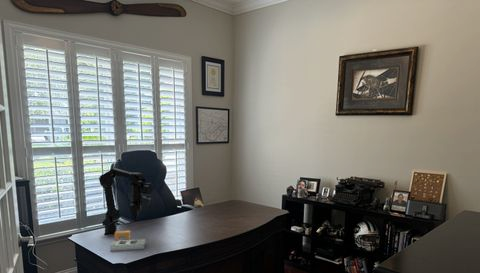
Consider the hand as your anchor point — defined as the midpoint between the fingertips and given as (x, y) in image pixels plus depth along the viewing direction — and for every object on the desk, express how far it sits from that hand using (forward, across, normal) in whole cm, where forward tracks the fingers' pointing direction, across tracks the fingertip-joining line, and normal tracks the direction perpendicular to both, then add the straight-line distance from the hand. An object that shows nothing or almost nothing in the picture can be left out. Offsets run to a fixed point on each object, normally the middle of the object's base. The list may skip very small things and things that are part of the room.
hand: (136, 217), depth 178 cm
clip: (+13, -7, +7) cm, 16 cm away
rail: (+13, -17, +2) cm, 21 cm away
